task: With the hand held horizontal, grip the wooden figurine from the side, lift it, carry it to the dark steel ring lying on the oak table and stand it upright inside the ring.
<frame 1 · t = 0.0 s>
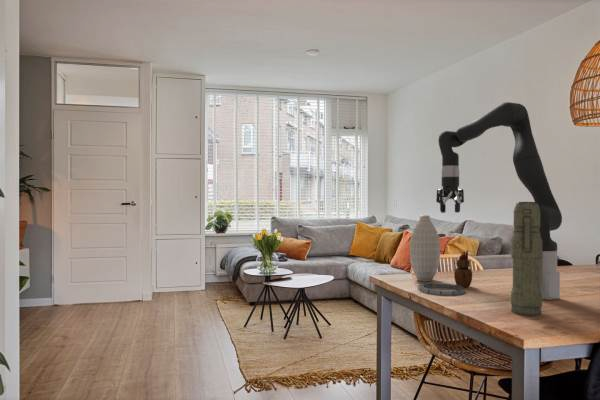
hand: (450, 212, 212), 29 cm above the table, tool pointing down, fingers open, 8 cm apart
vase: (424, 280, 207), on the table
wooden figurine: (463, 287, 193), on the table
steel ring: (441, 290, 184), on the table
thermos: (526, 313, 150), on the table
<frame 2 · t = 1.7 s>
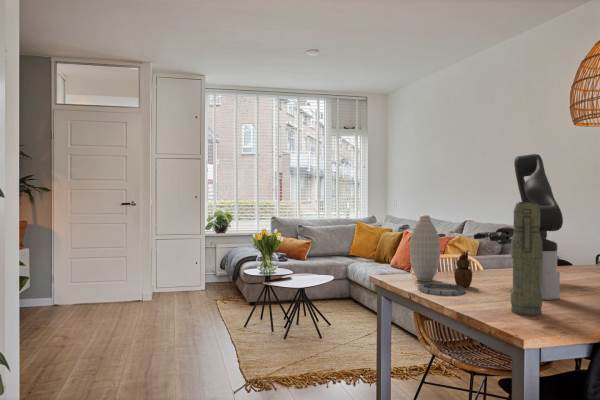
hand: (482, 237, 198), 19 cm above the table, tool horizontal, fingers open, 8 cm apart
nothing on the table moved.
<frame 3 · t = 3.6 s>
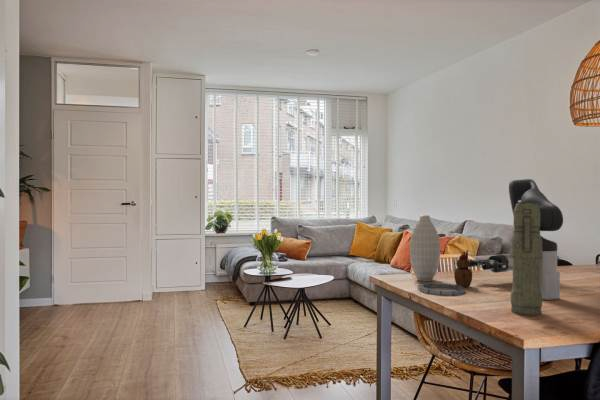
hand: (474, 265, 196), 8 cm above the table, tool horizontal, fingers open, 8 cm apart
nothing on the table moved.
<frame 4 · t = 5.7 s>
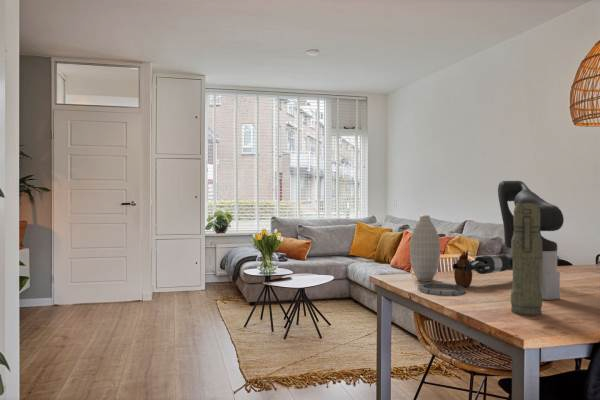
hand: (458, 267, 191), 8 cm above the table, tool horizontal, fingers closed on wooden figurine, 4 cm apart
wooden figurine: (463, 287, 193), on the table, touching gripper
everything else where it was.
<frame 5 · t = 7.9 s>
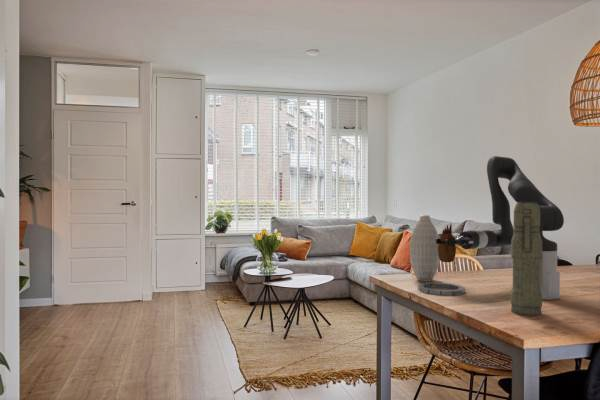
hand: (441, 241, 185), 19 cm above the table, tool horizontal, fingers closed on wooden figurine, 4 cm apart
wooden figurine: (446, 262, 187), point 11 cm above the table, touching gripper
everything else where it was.
when the fingers open (9 cm above the table, at t = 10.4 s): wooden figurine drops 1 cm, resting in steel ring.
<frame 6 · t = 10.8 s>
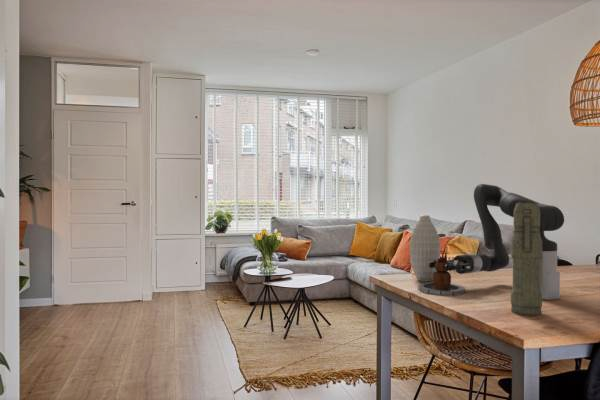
hand: (437, 266, 183), 9 cm above the table, tool horizontal, fingers open, 8 cm apart
wooden figurine: (441, 291, 184), resting in steel ring
everything else where it was.
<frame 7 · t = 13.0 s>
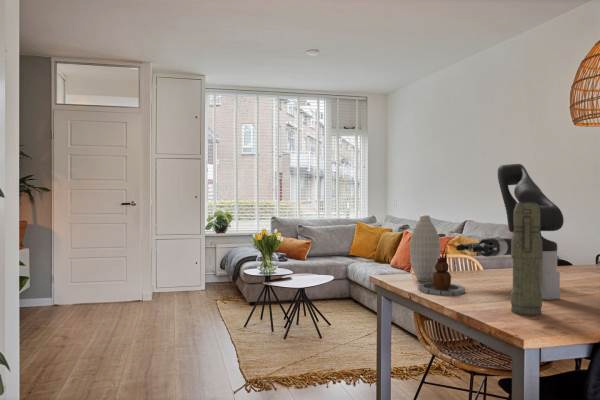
hand: (465, 248, 190), 16 cm above the table, tool horizontal, fingers open, 8 cm apart
nothing on the table moved.
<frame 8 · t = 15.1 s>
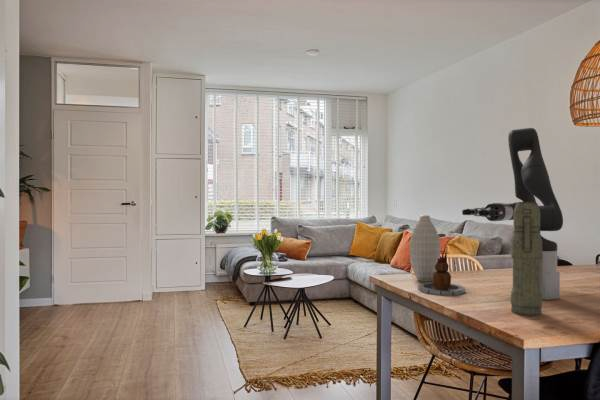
hand: (471, 212, 191), 30 cm above the table, tool horizontal, fingers open, 8 cm apart
nothing on the table moved.
at the end: wooden figurine inside the target area on the steel ring (0.2 cm from its centre), point 0.0 cm above the steel ring's base; wooden figurine tilted 0°; the gripper is holding nothing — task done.
